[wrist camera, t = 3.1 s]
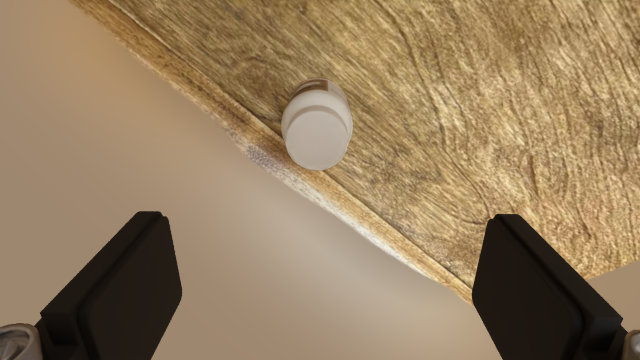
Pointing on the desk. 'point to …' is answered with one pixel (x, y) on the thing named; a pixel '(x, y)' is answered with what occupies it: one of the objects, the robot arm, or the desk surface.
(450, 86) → the desk surface
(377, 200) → the desk surface
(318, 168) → the pill bottle
